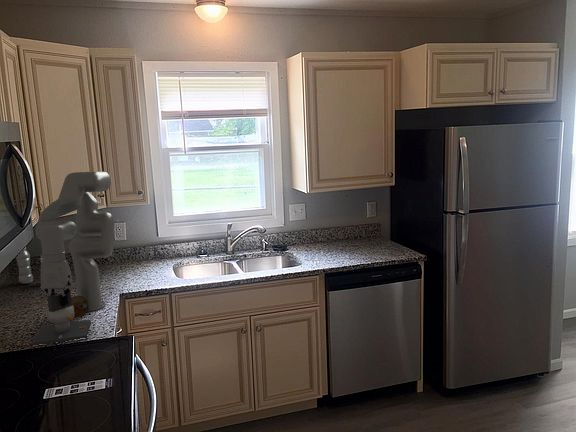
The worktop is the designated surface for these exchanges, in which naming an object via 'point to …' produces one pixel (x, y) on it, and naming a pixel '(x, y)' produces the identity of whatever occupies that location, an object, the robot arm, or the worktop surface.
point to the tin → (79, 305)
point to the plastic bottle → (24, 267)
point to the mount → (62, 332)
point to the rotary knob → (59, 309)
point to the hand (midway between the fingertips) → (59, 304)
